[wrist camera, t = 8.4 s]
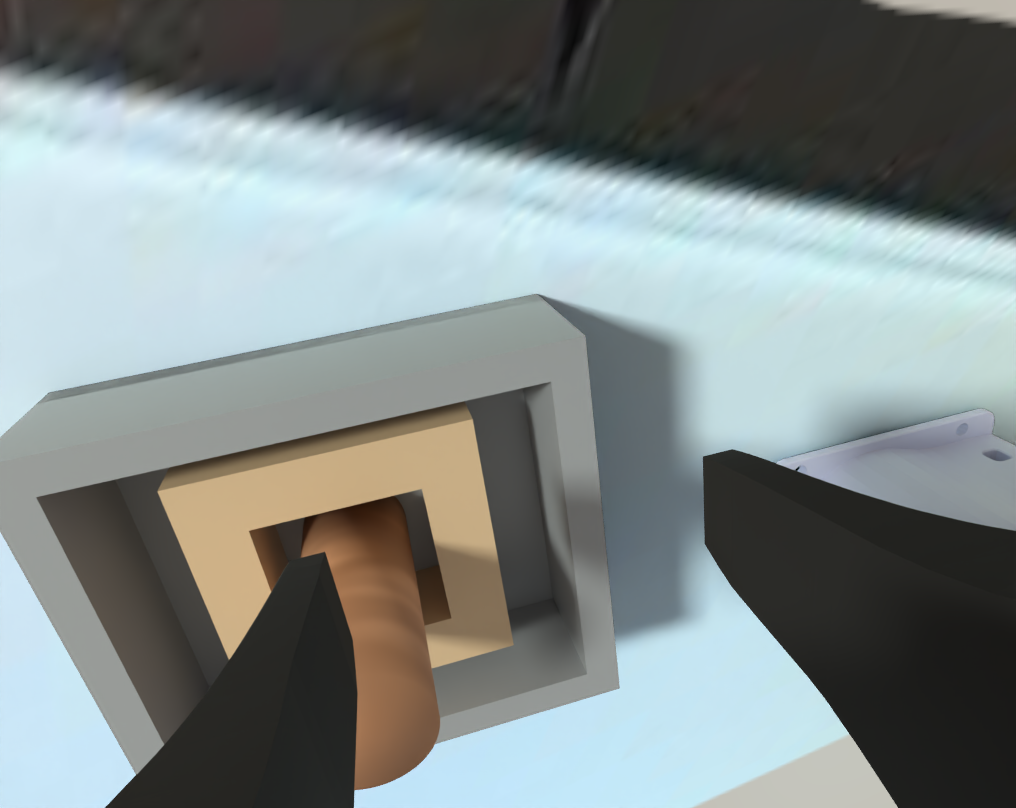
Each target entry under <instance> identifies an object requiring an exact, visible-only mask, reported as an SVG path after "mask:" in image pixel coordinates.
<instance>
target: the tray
mask: <svg viewBox="0 0 1016 808" xmlns="http://www.w3.org/2000/svg"><path fill="white" fill-rule="evenodd" d="M390 496H395V497H396V498H397V499H398V500H399V502H400V503H401V505H402V507H403V509H404V511H405V514H406V520H407V526H408V532H409V538H410V544H411V550H412V556H413V561H414V567H415V573H416V579H417V585H418V591H419V597H420V603H421V609H422V615H423V620H424V626H425V632H426V638H427V644H428V650H429V656H430V662H431V668H432V674H433V679H434V685H435V691H436V697H437V703H438V709H439V715H440V730H439V735H438V737H437V740H436V742H435V744H437V743H440V742H443V741H447V740H450V739H453V738H457V737H460V736H463V735H467V734H470V733H473V732H476V731H480V730H483V729H486V728H490V727H493V726H496V725H500V724H503V723H506V722H510V721H513V720H516V719H519V718H523V717H526V716H529V715H533V714H536V713H539V712H543V711H546V710H549V709H553V708H556V707H559V706H563V705H566V704H569V703H572V702H576V701H579V700H582V699H586V698H589V697H592V696H596V695H599V694H602V693H606V692H609V691H612V690H615V689H619V688H620V687H619V677H618V667H617V656H616V646H615V636H614V626H613V615H612V605H611V595H610V584H609V574H608V564H607V553H606V543H605V533H604V522H603V512H602V502H601V491H600V481H599V471H598V460H597V450H596V440H595V429H594V419H593V409H592V398H591V388H590V378H589V367H588V357H587V347H586V336H585V335H584V334H583V333H582V332H580V331H579V330H578V329H577V328H576V327H575V326H574V325H572V324H571V323H570V322H569V321H568V320H567V319H565V318H564V317H563V316H562V315H561V314H560V313H558V312H557V311H556V310H555V309H554V308H553V307H552V306H550V305H549V304H548V303H547V302H546V301H545V300H543V299H542V298H541V297H540V296H539V295H538V294H533V295H528V296H524V297H519V298H514V299H509V300H504V301H499V302H494V303H489V304H484V305H479V306H474V307H469V308H464V309H459V310H454V311H450V312H445V313H440V314H435V315H430V316H425V317H420V318H415V319H410V320H405V321H400V322H395V323H390V324H385V325H380V326H376V327H371V328H366V329H361V330H356V331H351V332H346V333H341V334H336V335H331V336H326V337H321V338H316V339H311V340H306V341H302V342H297V343H292V344H287V345H282V346H277V347H272V348H267V349H262V350H257V351H252V352H247V353H242V354H237V355H232V356H227V357H223V358H218V359H213V360H208V361H203V362H198V363H193V364H188V365H183V366H178V367H173V368H168V369H163V370H158V371H153V372H149V373H144V374H139V375H134V376H129V377H124V378H119V379H114V380H109V381H104V382H99V383H94V384H89V385H84V386H79V387H75V388H70V389H65V390H60V391H55V392H50V393H48V394H47V395H46V396H45V397H44V398H43V399H42V400H40V401H39V402H38V403H37V404H36V405H35V406H34V407H33V408H32V409H31V410H30V411H28V412H27V413H26V414H25V415H24V416H23V417H22V418H21V419H20V420H19V421H18V422H16V423H15V424H14V425H13V426H12V427H11V428H10V429H9V430H8V431H7V432H6V433H4V434H3V435H2V436H1V437H0V532H1V534H2V535H3V537H4V539H5V541H6V542H7V544H8V546H9V548H10V550H11V551H12V553H13V555H14V557H15V559H16V560H17V562H18V564H19V566H20V568H21V569H22V571H23V573H24V575H25V576H26V578H27V580H28V582H29V584H30V585H31V587H32V589H33V591H34V593H35V594H36V596H37V598H38V600H39V602H40V603H41V605H42V607H43V609H44V611H45V612H46V614H47V616H48V618H49V619H50V621H51V623H52V625H53V627H54V628H55V630H56V632H57V634H58V636H59V637H60V639H61V641H62V643H63V645H64V646H65V648H66V650H67V652H68V653H69V655H70V657H71V659H72V661H73V662H74V664H75V666H76V668H77V670H78V671H79V673H80V675H81V677H82V679H83V680H84V682H85V684H86V686H87V688H88V689H89V691H90V693H91V695H92V696H93V698H94V700H95V702H96V704H97V705H98V707H99V709H100V711H101V713H102V714H103V716H104V718H105V720H106V722H107V723H108V725H109V727H110V729H111V730H112V732H113V734H114V736H115V738H116V739H117V741H118V743H119V745H120V747H121V748H122V750H123V752H124V754H125V756H126V757H127V759H128V761H129V763H130V764H131V766H132V768H133V770H134V772H135V773H136V775H137V774H138V773H139V772H140V770H141V769H142V768H143V767H144V766H145V765H146V764H147V763H148V762H149V761H150V760H151V759H152V758H153V757H154V756H155V755H156V754H157V752H158V751H159V750H160V749H161V748H162V747H163V746H164V744H165V743H166V742H167V741H168V740H169V739H170V737H171V736H172V735H173V734H174V733H175V731H176V730H177V729H178V728H179V727H180V725H181V724H182V723H183V722H184V721H185V719H186V718H187V717H188V716H189V715H190V713H191V712H192V711H193V710H194V708H195V707H196V706H197V704H198V703H199V702H200V700H201V699H202V698H203V696H204V695H205V694H206V692H207V691H208V689H209V688H210V687H211V685H212V684H213V682H214V681H215V679H216V678H217V677H218V675H219V674H220V672H221V671H222V669H223V668H224V667H225V665H226V664H227V662H228V661H229V659H230V658H231V657H232V655H233V654H234V652H235V650H236V649H237V647H238V646H239V644H240V643H241V641H242V639H243V638H244V636H245V635H246V633H247V631H248V630H249V628H250V627H251V625H252V623H253V622H254V620H255V619H256V617H257V615H258V614H259V612H260V610H261V609H262V607H263V605H264V603H265V602H266V600H267V598H268V597H269V595H270V593H271V591H272V590H273V588H274V586H275V584H276V583H277V581H278V579H279V577H280V576H281V574H282V572H283V570H284V569H285V567H286V566H287V564H288V563H289V561H290V560H294V559H298V558H300V556H301V545H302V534H303V523H304V519H305V517H308V516H312V515H316V514H320V513H324V512H328V511H332V510H337V509H341V508H345V507H349V506H353V505H357V504H361V503H365V502H370V501H374V500H378V499H382V498H386V497H390Z"/></svg>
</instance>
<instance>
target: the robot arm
mask: <svg viewBox="0 0 1016 808" xmlns="http://www.w3.org/2000/svg"><path fill="white" fill-rule="evenodd" d="M993 425H994V415H993V413H991V412H989V411H987V410H985V409H976V410H972V411H968V412H964V413H960V414H956V415H952V416H949V417H945V418H941V419H937V420H933V421H929V422H925V423H921V424H917V425H913V426H910V427H906V428H902V429H898V430H894V431H890V432H886V433H882V434H878V435H875V436H871V437H867V438H863V439H859V440H855V441H851V442H847V443H843V444H840V445H836V446H832V447H828V448H824V449H820V450H816V451H812V452H808V453H804V454H801V455H797V456H793V457H789V458H785V459H782V460H780V461H778V462H777V463H773V462H770V461H768V460H765V459H762V458H759V457H756V456H753V455H750V454H747V453H744V452H740V451H736V450H728V451H724V452H720V453H716V454H712V455H708V456H704V457H703V479H704V528H705V545H706V547H707V548H708V550H709V552H710V553H711V555H712V557H713V558H714V560H715V561H716V563H717V565H718V566H719V568H720V569H721V571H722V573H723V574H724V576H725V577H726V579H727V580H728V582H729V583H730V585H731V586H732V587H733V589H734V590H735V591H736V592H737V594H738V595H739V596H740V597H741V598H742V600H743V601H744V602H745V603H746V604H747V606H748V607H749V608H750V609H751V610H752V612H753V613H754V614H755V615H756V616H757V618H758V619H759V620H760V621H761V622H762V623H763V625H764V626H765V627H766V628H767V629H768V630H769V632H770V633H771V634H772V635H773V636H774V638H775V639H776V640H777V641H778V642H779V643H780V645H781V646H782V647H783V648H784V649H785V650H786V652H787V653H788V654H789V655H790V656H791V657H792V659H793V660H794V661H795V662H796V663H797V664H798V666H799V667H800V668H801V669H802V670H803V672H804V673H805V674H806V675H807V676H808V677H809V679H810V680H811V681H812V683H813V684H814V685H815V686H816V688H817V689H818V690H819V691H820V693H821V694H822V695H823V697H824V698H825V699H826V701H827V702H828V703H829V705H830V706H831V708H832V709H833V711H834V712H835V714H836V715H837V716H838V718H839V719H840V721H841V722H842V724H843V725H844V727H845V728H846V729H847V731H848V732H849V734H850V735H851V737H852V738H853V739H854V741H855V742H856V744H857V745H858V747H859V748H860V750H861V751H862V753H863V754H864V756H865V758H866V759H867V761H868V762H869V764H870V765H871V767H872V768H873V770H874V771H875V773H876V774H877V776H878V777H879V779H880V780H881V782H882V783H883V785H884V786H885V788H886V790H887V791H888V793H889V794H890V796H891V797H892V799H893V800H894V802H895V804H896V805H897V807H898V808H1016V445H1014V444H1012V443H1009V442H1007V441H1005V440H1003V439H1001V438H999V437H997V436H995V435H993V434H992V431H993ZM799 466H800V468H799V469H798V470H797V471H795V469H796V468H797V467H799ZM357 696H358V692H357V679H356V667H355V657H354V646H353V639H352V635H351V632H350V629H349V626H348V623H347V620H346V616H345V613H344V610H343V607H342V604H341V601H340V597H339V594H338V591H337V588H336V585H335V582H334V578H333V575H332V572H331V569H330V566H329V562H328V559H327V556H326V553H325V552H322V553H318V554H314V555H310V556H306V557H302V558H298V559H294V560H290V561H289V563H288V564H287V566H286V567H285V569H284V570H283V572H282V574H281V576H280V577H279V579H278V581H277V583H276V584H275V586H274V588H273V590H272V591H271V593H270V595H269V597H268V598H267V600H266V602H265V603H264V605H263V607H262V609H261V610H260V612H259V614H258V615H257V617H256V619H255V620H254V622H253V623H252V625H251V627H250V628H249V630H248V631H247V633H246V635H245V636H244V638H243V639H242V641H241V643H240V644H239V646H238V647H237V649H236V650H235V652H234V654H233V655H232V657H231V658H230V659H229V661H228V662H227V664H226V665H225V667H224V668H223V669H222V671H221V672H220V674H219V675H218V677H217V678H216V679H215V681H214V682H213V684H212V685H211V687H210V688H209V689H208V691H207V692H206V694H205V695H204V696H203V698H202V699H201V700H200V702H199V703H198V704H197V706H196V707H195V708H194V710H193V711H192V712H191V713H190V715H189V716H188V717H187V718H186V719H185V721H184V722H183V723H182V724H181V725H180V727H179V728H178V729H177V730H176V731H175V733H174V734H173V735H172V736H171V737H170V739H169V740H168V741H167V742H166V743H165V744H164V746H163V747H162V748H161V749H160V750H159V751H158V752H157V754H156V755H155V756H154V757H153V758H152V759H151V760H150V761H149V762H148V763H147V764H146V765H145V766H144V767H143V768H142V769H141V770H140V772H139V773H138V774H137V775H136V776H135V777H134V778H133V779H132V780H131V781H130V782H129V783H128V784H127V785H126V786H125V787H124V788H123V789H122V790H121V792H120V793H119V794H118V795H117V796H116V797H115V798H114V799H113V800H112V801H111V802H110V803H109V804H108V805H107V806H106V807H105V808H354V786H355V759H356V731H357Z"/></svg>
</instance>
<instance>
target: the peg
mask: <svg viewBox="0 0 1016 808" xmlns="http://www.w3.org/2000/svg"><path fill="white" fill-rule="evenodd" d="M322 552H325V553H326V556H327V559H328V562H329V566H330V569H331V572H332V575H333V578H334V582H335V585H336V588H337V591H338V594H339V597H340V601H341V604H342V607H343V610H344V613H345V616H346V620H347V623H348V626H349V629H350V632H351V635H352V639H353V646H354V657H355V667H356V679H357V692H358V696H357V731H356V759H355V786H354V790H360V789H367V788H372V787H376V786H380V785H383V784H386V783H388V782H391V781H393V780H395V779H398V778H400V777H401V776H403V775H405V774H406V773H408V772H409V771H411V770H412V769H414V768H415V767H416V766H417V765H418V764H420V763H421V762H422V761H423V760H424V759H425V757H426V756H427V755H428V754H429V752H430V751H431V750H432V748H433V746H434V744H435V742H436V740H437V737H438V735H439V730H440V715H439V709H438V703H437V697H436V691H435V685H434V679H433V674H432V668H431V662H430V656H429V650H428V644H427V638H426V632H425V626H424V620H423V615H422V609H421V603H420V597H419V591H418V585H417V579H416V573H415V567H414V561H413V556H412V550H411V544H410V538H409V532H408V526H407V520H406V514H405V511H404V509H403V507H402V505H401V503H400V502H399V500H398V499H397V498H396V497H395V496H390V497H386V498H382V499H378V500H374V501H370V502H365V503H361V504H357V505H353V506H349V507H345V508H341V509H337V510H332V511H328V512H324V513H320V514H316V515H312V516H308V517H305V519H304V523H303V534H302V545H301V556H300V558H302V557H306V556H310V555H314V554H318V553H322Z"/></svg>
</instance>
